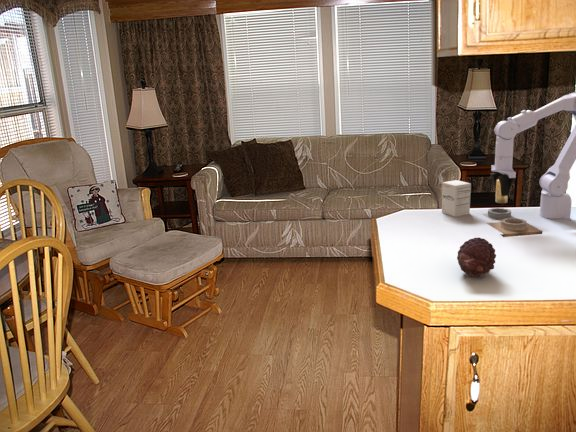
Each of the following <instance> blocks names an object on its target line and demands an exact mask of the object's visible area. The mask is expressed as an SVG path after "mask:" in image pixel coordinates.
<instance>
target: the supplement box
mask: <svg viewBox="0 0 576 432" xmlns="http://www.w3.org/2000/svg"><path fill="white" fill-rule="evenodd" d="M471 188H472V183H471V182H467V181H462V180H459V179H454V180H448V181H443V182H442V192H441V193H442V195H441V196H442V200H441V213H442V214H446V215H448V216H450V217H460V216H466V215H469V214H470V213H471V212H470V208H471V193H472V192H471V190H472V189H471Z"/></svg>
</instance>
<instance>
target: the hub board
mask: <svg viewBox="0 0 576 432" xmlns="http://www.w3.org/2000/svg"><path fill="white" fill-rule="evenodd" d="M486 224H487V225H489V226H490V227H492V228H493V229H495V230H497V231H498V232H499V233H500V234H499V235H500V236H502V237H503V238H508V237H522V236H535V235H536V236H537V235H543V230H541V229H539V228H537V227H535V226H534V225H532V224H530V223H528V222H527V220H525V219H522V218H517V217H515V218H506V219H502V220H500V221H496V222H495V221H494V222H486Z"/></svg>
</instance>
